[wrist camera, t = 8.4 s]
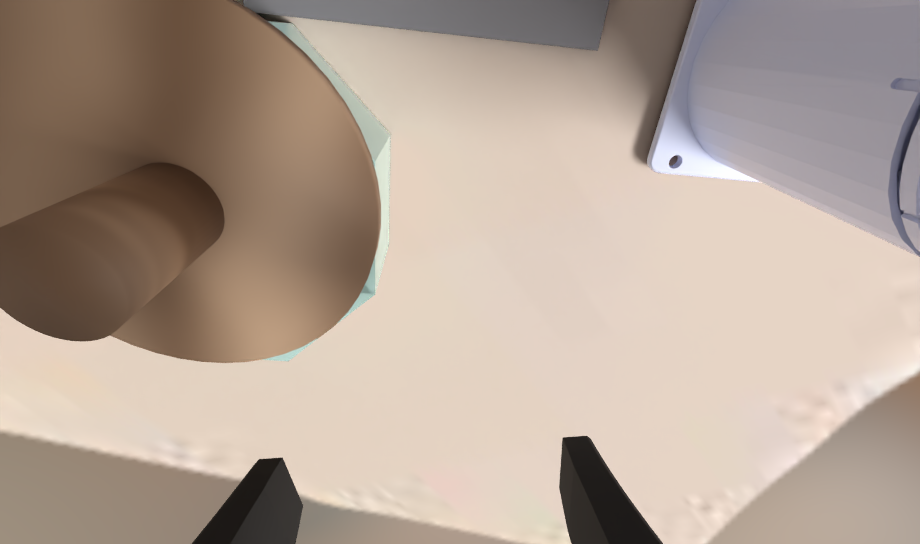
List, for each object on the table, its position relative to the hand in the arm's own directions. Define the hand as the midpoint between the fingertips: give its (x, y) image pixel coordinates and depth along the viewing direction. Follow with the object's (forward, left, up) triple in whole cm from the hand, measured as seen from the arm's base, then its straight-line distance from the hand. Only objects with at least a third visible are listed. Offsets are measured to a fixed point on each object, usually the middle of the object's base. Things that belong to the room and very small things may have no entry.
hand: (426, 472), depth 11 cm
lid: (+8, -5, -6) cm, 11 cm away
